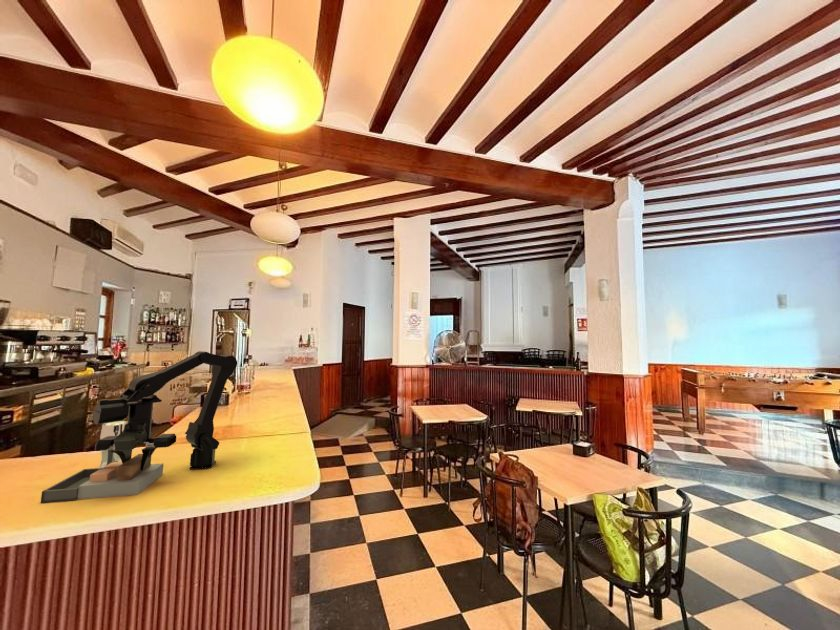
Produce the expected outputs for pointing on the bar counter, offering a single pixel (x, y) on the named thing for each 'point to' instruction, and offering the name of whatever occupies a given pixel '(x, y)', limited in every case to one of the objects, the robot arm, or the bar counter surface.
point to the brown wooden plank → (131, 468)
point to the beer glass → (107, 455)
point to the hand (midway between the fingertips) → (134, 470)
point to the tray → (67, 487)
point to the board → (120, 484)
